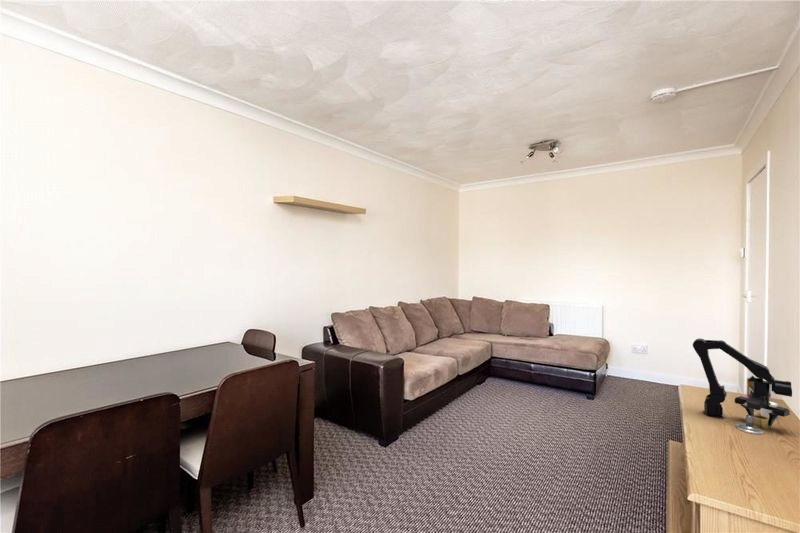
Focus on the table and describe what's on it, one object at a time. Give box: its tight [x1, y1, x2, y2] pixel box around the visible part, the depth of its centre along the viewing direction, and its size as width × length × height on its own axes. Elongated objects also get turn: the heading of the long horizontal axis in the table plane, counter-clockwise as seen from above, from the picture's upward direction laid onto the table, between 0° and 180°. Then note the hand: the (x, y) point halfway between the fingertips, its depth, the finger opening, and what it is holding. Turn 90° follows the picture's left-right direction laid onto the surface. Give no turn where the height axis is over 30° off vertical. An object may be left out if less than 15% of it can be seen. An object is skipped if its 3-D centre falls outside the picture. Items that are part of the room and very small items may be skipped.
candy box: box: [746, 377, 772, 402], centre depth 202 cm, size 9×4×15 cm, turn 28°
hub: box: [734, 414, 765, 435], centre depth 175 cm, size 10×10×6 cm
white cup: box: [759, 401, 779, 418], centre depth 191 cm, size 7×7×7 cm
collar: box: [751, 413, 772, 429], centre depth 180 cm, size 6×6×4 cm
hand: (760, 423), depth 180 cm, fingers closed on collar, 6 cm apart
